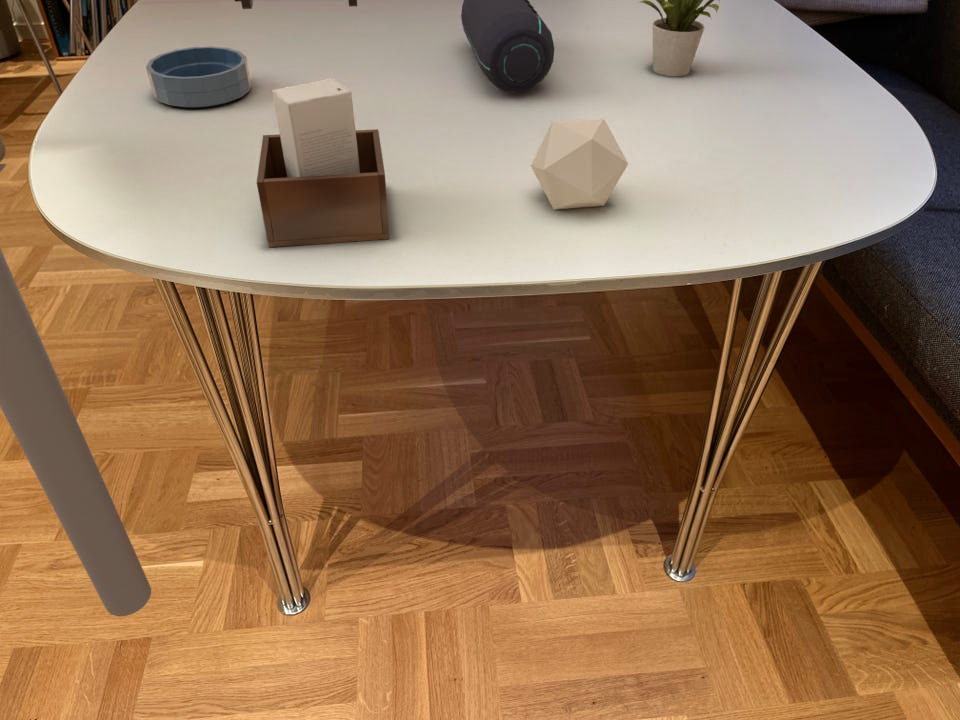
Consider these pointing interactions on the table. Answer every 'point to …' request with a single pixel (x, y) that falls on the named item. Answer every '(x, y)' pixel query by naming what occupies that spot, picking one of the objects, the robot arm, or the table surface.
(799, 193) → the table surface
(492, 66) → the portable speaker
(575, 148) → the die
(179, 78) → the bowl
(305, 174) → the cosmetic box
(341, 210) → the holder
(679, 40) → the house plant
